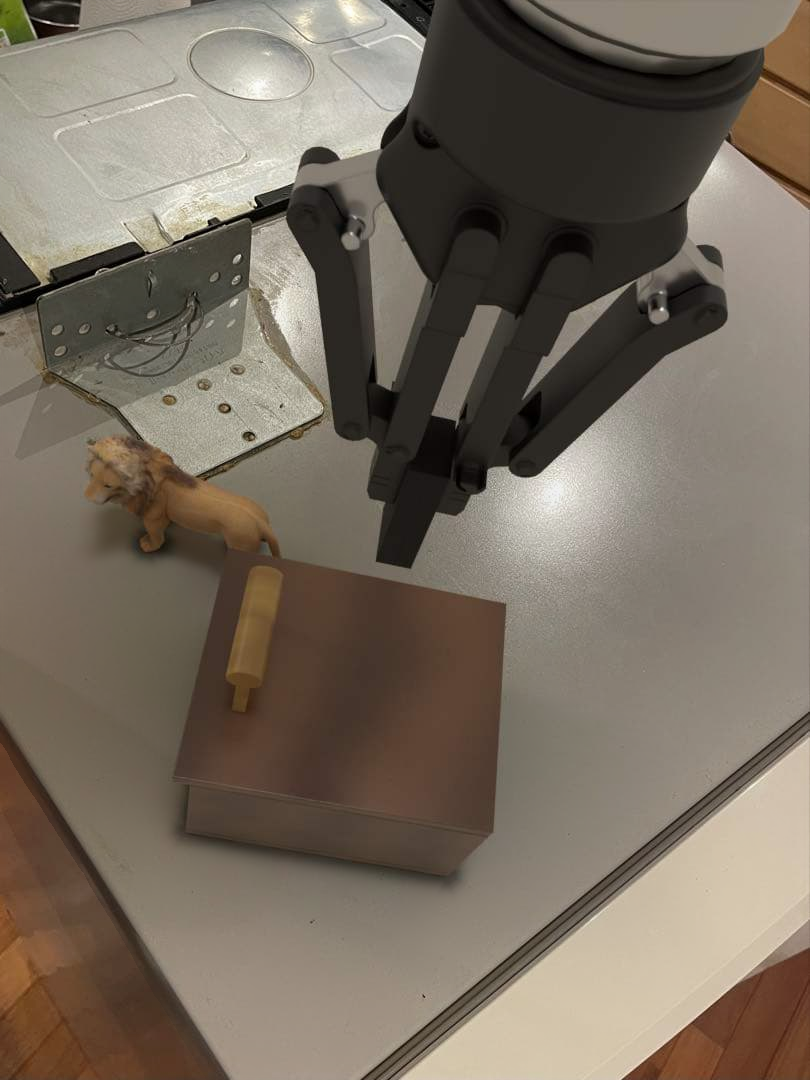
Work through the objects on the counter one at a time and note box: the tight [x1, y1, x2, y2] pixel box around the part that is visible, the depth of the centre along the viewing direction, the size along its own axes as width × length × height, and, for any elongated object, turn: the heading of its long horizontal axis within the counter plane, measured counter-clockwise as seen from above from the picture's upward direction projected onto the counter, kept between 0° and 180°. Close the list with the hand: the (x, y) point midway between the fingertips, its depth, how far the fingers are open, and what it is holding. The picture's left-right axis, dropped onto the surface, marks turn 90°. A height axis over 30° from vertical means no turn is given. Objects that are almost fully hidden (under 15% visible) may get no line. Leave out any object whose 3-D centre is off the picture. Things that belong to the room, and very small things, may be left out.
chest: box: [184, 785, 490, 877], centre depth 58 cm, size 16×14×9 cm
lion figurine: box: [82, 433, 283, 558], centre depth 63 cm, size 15×5×9 cm, turn 79°
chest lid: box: [172, 547, 507, 837], centre depth 52 cm, size 16×14×6 cm
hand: (396, 537), depth 41 cm, fingers closed
